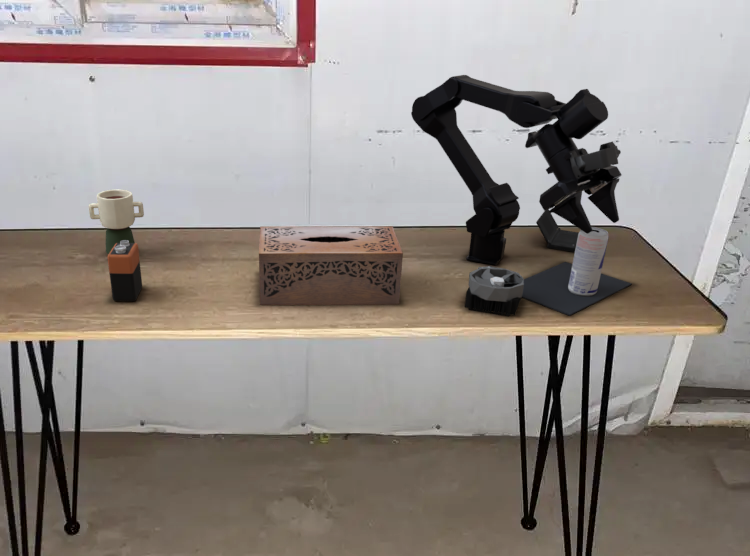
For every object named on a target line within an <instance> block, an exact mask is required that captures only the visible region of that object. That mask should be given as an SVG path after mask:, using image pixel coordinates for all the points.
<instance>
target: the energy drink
mask: <svg viewBox="0 0 750 556" xmlns="http://www.w3.org/2000/svg"><path fill="white" fill-rule="evenodd" d="M591 227H592V232H590V233H588V234H587V233H585V232H584V231H582V230H581V229H579V234H578V239H577V244H576V249H575V252H574V255H573V259H572V263H571V264H572V269H571V275H570V280H569V285H568V289H569V291H570V292H571V293H573V294H575V295H579V296H592V295H594V294H595V293H596V292H597V289H598V285H599V280H600V275H601V274H602V269H603V265H604V262H605V256H606V251H607V247H608V242H609V231H608V230H606V229H604V228H601V227H595V226H591Z"/></svg>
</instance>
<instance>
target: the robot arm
mask: <svg viewBox="0 0 750 556" xmlns="http://www.w3.org/2000/svg"><path fill="white" fill-rule="evenodd" d="M463 101H465V102H469V103H471V104H475V105H477V106H481V107H484V108H487V109H491V110H494V111H497V112H499V113H502V114H503V115H504V116H506V118H507V119H508V120H509V121H510V122H512V123H514V124H516V125H518V126H519V127H521V128H523V129H529V128H534V127H538V126H542V125H543V126H542V127H540V128H539V129H538V130H535V131H531V132H528V133H527V139H526V141H525V144H524V148H525V149H529V148H533V147H538V150H539V151H540V153H541V154H542V156H543V158H544V160H545V161H546V163H547V165H548V167H547V168H546V169H545V172H547V174H548V175H550V174H553V175H554V177H555V179H556V181H557V182H555V184H553V185H552V186H550V187H549V188H547V189H546V190H545V191H544V192H542V193H541V194H540V195H539V200H538V202H539V204H540V207H541V208H542V210H543V212H544V211H545V210H547V209H549V211H550V212H551V214H555V215H557V216H559V217H560V218H561V219H563V220H565V221H567V222H569V223H570V224H572V225H573V226H574V227H576V228H578V229H579V230H582V231H584V232H585V233H587V234H588V233H590V232H592V227H593V226H592V225H591V222H590V219H589V218H588V216H587V214H586V211H585V209H584V207H583V205H582V197H583V196H582V195H583V192H584V193H585V194H587V195H588V197H587V199H588V200H589V201H590V202H591V203H592V204H593V205H594V207H596V208H597V209H598V210H599V211H600V212H601V213H602V214H603V215H604V216H605V217H606V218H607V219H608V220H610V221H611V223H613V224H616V223H617V222H619V221H620V216H619V211H618V205H617V201H616V193H615V191H616V187H617V184H619V182H620V177H622V176H623V174H622V173H621V171H620V169H619V168H618V166H617V165H619V159H618V158H619V157H620V155H621V149H619V148H618V145H616V144H615V142H614V141H608V142H605V143H601V144H600V146H599V150H596V151H593V152H590V153H589V152H588V150H587V149H586V148H584V147H580V148H578V146H577V145H576V143H575V141H574V140H573V139H576V140H582V139H583V138H585V137H586V136H587V135H588V134H590V133H591V132H592V131H593V130H595V129H596V128H597V127H599V126H600V125H601V124H602V123H604V122H605V121H607V120H608V118H609V111H608V107H607V106H606V104H605V102H604V101H602V100H601V99H600V98H599V97H598V96H596V95H595V94H592V93H591V92H590V90H589V89H588V88H584V89H580V90H579V91H577V92H576V93H575V95H574V96H573V97H572V98H571V99H570V100H568V101H567V102H566V103H565V102H563V101H561V100H560V101H559V100H557V99H556V97H555V95H553V93H551V92H549V91H540V90H539V91H538V90H515V89H511V88H508V87H505V86H500V85H498V84H494V83H490V82H487V81H483V80H480V79H477V78H473V77H471V76H469V75H468V74H461V75H454V76H450V77H448V78H447V79H446V80H445V81H444V82H443V83H442V84H440V85H439V86H437V87H435V88H433V89H432V90H431V91H429V92H427V93H426V94H425V95H421V96H418V97H416V98H415V100H414V101H413V103H412V106H411V112H410V113H411V118H412V120H413V121H414V123H415V124H416V125H417V126H418V127H419V128H420V130H421V131H422V132H423V133H425V134H427V135H429V136H430V137H432V138H434V139H435V140H436V141H437V142H438V144H439V145H440V147H441V149H442V150H443V152H444V153H445V155H446V156H447V158H448V160H449V161H450V162H451V164H452V165H453V167H454V168H455V170H456V172H457V173H458V175H459V176H460V178H461V179H462V181H463V182H464V184H465V185H466V187H467V188H468V190H469V192H470V193H471V195H472V208H473V211H474V212H475V214H474V215H472V216H471V217H470V218H468V219H467V220H466V221H465V227H466V232H467V233H470V240H469V249H468V255H467V256H466V257H465V260H466V261H470V262H475V263H481V264H487V265H490V266H496V265H498V263H499V262H500V261H502V259H503V258H504V256H505V252H506V251H505V250H506V244H507V237H505V232H506V230H509V229H511V227H512V224H513V223H514V222H516V221H517V220H518V218H519V216H520V210H521V206H520V203H519V201H518V200H519V198H520V197H519V196H518V195H516V193H514V191H513V189H512V186H511V185H510V184H509V183H508V182H505V183H501V184H500V183H497V182H496V181H494V180H493V178H492V176H491V175H490V173H489V172H488V171H487V169H486V168H485V166H484V164H483V163H482V161H481V160H480V158H479V157H478V155H477V154H476V152H475V151H474V149H473V148H472V146H471V145H470V143H469V141H468V140H467V139H466V137H465V136H464V134H463V132H462V131H461V129H460V128H459V126H458V119H457V117H458V116H457V111H456V109H457V107H459V106H460V105H461V103H462V102H463ZM553 120H556V121H554V122H553V123H551V122H552V121H553ZM615 165H616V166H615Z"/></svg>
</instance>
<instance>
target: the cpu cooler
mask: <svg viewBox="0 0 750 556" xmlns="http://www.w3.org/2000/svg"><path fill="white" fill-rule="evenodd" d="M524 279H525V278H524V277H523V276H522V275H521V274H520V273H519V272H517V271H514V270H510V269H508V268H503V267H497V266H496V267H495V266H493V265H489V266H488V265H487V266H478V267H477V268H476V269H474V270H472V271H470V272H469V275H468V284H467V285H468V288H467V290H466V292H465V293H466V294H465V301H464V308H468V311H474V312H479V313H480V312H481V313H485V314H486V313H487V314H493V315H499V316H504V317H510V315H511V316H516V314H517V311H518V309H519V306H520V303H521V301H522V298H521V297H522V293H523V287H524Z"/></svg>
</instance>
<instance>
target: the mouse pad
mask: <svg viewBox="0 0 750 556" xmlns="http://www.w3.org/2000/svg"><path fill="white" fill-rule="evenodd" d="M572 264H573V263H570V262H567V261H564V262H561V263H559V264H557V265H554V266H552V267H550V268H547V269H545V270H543V271H540V272H538V273H535V274H533V275H531V276H528V277H526V278H524V287H523V293H522V297H521V299H524V300H526V301H529V302H531V303H534V304H537V305H539V306H542V307H545V308H547V309H550V310H553V311H555V312H558V313H561V314H564V315H566V316H568V317H570V316H572V315H574V314H576V313H578V312H580V311H583V310H584V309H586V308H588V307H590V306H593V305H594V304H597V303H598V302H600V301H602V300H604V299H607V298H608V297H610V296H612V295H614V294H616V293H618V292H620V291H622V290H625V289H626V288H628V287H631V286H632V284H633V283H632V282H628V281H626V280H622V279H619V278H616V277H613V276H610V275H607V274H604V273H601V275H600V280H599V285H598V289H597V292H596V293H595V294H594V295H592V296H579V295H575V294H573V293H571V292H570V291H569V289H568V285H569V280H570V275H571V269H572Z"/></svg>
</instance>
